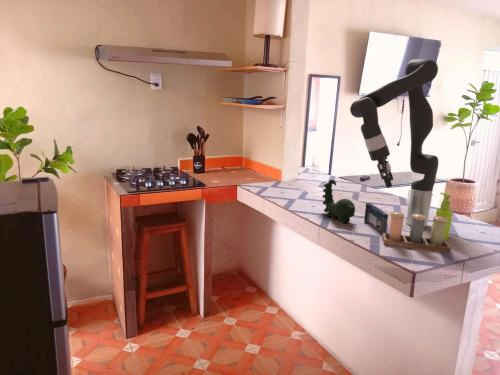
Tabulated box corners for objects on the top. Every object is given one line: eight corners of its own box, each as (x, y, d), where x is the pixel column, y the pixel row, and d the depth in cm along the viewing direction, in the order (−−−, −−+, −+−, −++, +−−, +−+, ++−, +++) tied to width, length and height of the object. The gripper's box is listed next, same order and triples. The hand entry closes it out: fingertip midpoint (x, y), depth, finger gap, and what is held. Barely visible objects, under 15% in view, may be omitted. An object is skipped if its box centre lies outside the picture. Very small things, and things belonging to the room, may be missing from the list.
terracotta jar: (387, 239, 155) (390, 211, 152) (399, 240, 153) (403, 212, 151) (388, 243, 150) (391, 214, 147) (401, 245, 149) (405, 215, 146)
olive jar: (427, 244, 151) (432, 215, 148) (440, 245, 150) (445, 216, 147) (430, 248, 146) (434, 219, 144) (443, 250, 145) (448, 220, 143)
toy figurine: (317, 215, 194) (344, 227, 170) (318, 178, 191) (346, 185, 168) (333, 214, 197) (362, 225, 173) (334, 177, 194) (364, 184, 171)
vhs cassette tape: (363, 223, 179) (365, 202, 177) (369, 223, 180) (372, 202, 177) (379, 237, 162) (381, 214, 159) (385, 237, 162) (388, 214, 160)
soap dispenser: (441, 237, 164) (449, 192, 160) (450, 243, 158) (458, 196, 153) (428, 236, 164) (435, 191, 159) (436, 242, 157) (444, 195, 153)
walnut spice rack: (381, 240, 157) (382, 232, 156) (444, 248, 152) (445, 240, 151) (383, 248, 149) (384, 239, 148) (449, 256, 144) (450, 247, 143)
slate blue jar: (407, 241, 153) (411, 213, 150) (420, 243, 152) (424, 214, 149) (409, 246, 148) (413, 216, 146) (422, 247, 147) (426, 218, 144)
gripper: (385, 147, 144) (399, 186, 147) (387, 139, 156) (400, 175, 159) (365, 154, 148) (379, 192, 150) (369, 145, 160) (382, 180, 163)
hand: (390, 183), depth 155 cm, fingers open, 8 cm apart
